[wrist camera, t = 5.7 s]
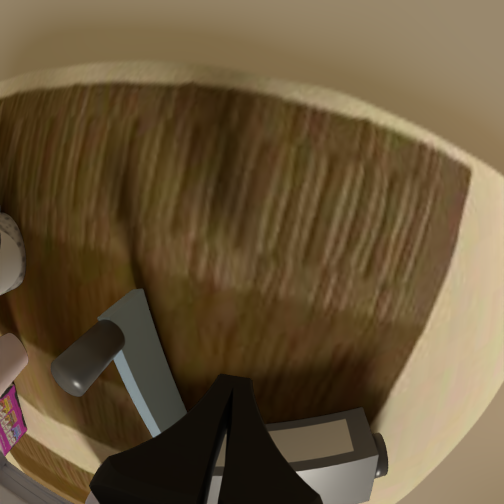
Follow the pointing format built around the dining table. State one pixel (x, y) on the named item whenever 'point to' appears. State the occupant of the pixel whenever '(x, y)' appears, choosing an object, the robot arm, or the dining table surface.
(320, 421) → the camera housing
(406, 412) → the dining table surface
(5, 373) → the smoothie
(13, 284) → the mug
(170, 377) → the side door
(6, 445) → the candy bar box
